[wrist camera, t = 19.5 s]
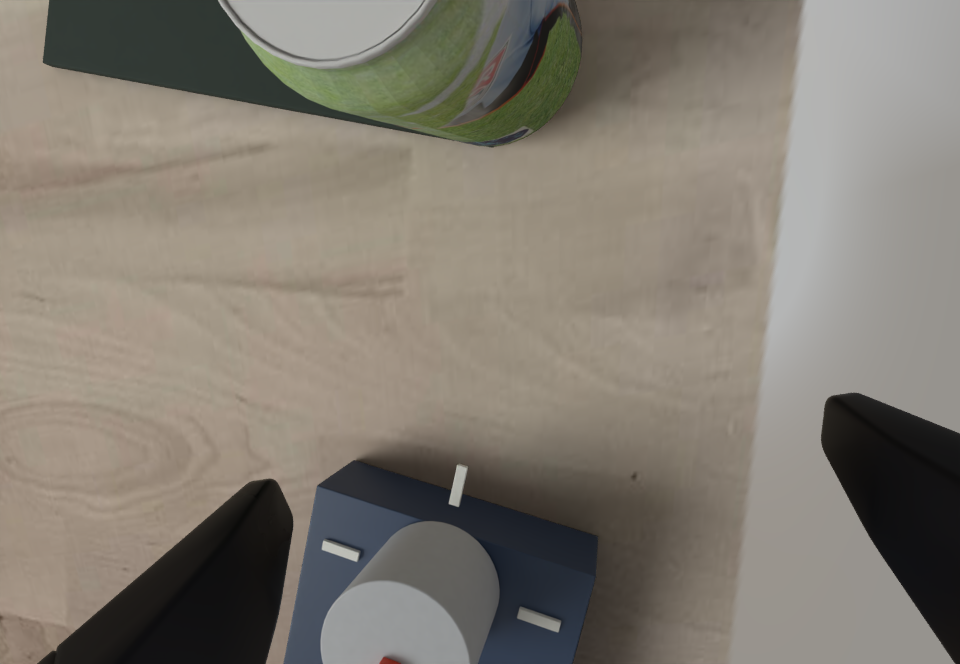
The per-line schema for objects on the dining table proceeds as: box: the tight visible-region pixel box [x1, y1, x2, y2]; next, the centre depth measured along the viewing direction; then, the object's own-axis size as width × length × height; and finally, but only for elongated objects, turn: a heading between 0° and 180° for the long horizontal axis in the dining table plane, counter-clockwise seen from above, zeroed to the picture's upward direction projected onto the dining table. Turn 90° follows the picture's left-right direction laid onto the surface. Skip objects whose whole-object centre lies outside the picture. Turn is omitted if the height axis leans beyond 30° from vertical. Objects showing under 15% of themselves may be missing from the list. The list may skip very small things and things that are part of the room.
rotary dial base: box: [284, 460, 598, 664], centre depth 21 cm, size 10×10×3 cm
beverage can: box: [218, 0, 582, 146], centre depth 14 cm, size 6×7×12 cm
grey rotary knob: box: [321, 521, 500, 664], centre depth 18 cm, size 4×4×4 cm
